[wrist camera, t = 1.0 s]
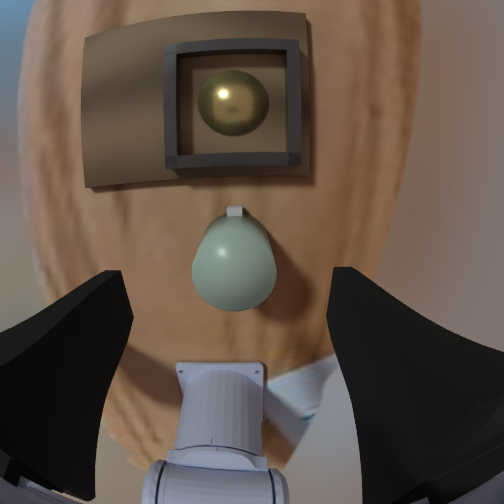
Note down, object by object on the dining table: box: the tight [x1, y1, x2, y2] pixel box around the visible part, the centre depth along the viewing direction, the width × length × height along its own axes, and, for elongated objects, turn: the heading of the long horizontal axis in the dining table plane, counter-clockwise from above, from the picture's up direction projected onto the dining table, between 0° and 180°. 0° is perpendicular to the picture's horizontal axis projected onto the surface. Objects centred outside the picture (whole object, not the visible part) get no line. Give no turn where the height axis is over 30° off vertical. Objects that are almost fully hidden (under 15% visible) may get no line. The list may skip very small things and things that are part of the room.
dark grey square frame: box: [163, 38, 301, 169], centre depth 16 cm, size 8×8×1 cm
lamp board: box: [81, 11, 310, 188], centre depth 17 cm, size 12×16×1 cm
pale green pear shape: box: [192, 205, 277, 311], centre depth 19 cm, size 6×5×5 cm
